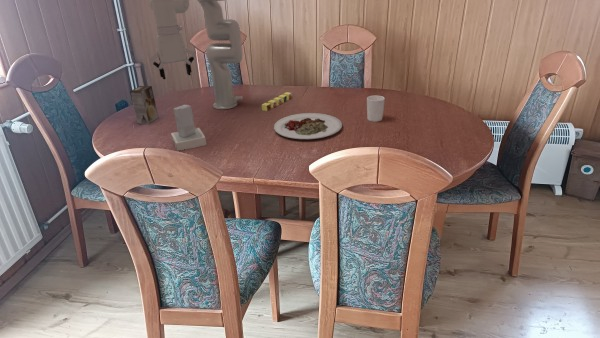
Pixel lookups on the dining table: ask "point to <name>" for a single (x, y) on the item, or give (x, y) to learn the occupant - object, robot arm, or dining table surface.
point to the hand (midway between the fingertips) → (176, 76)
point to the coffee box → (144, 104)
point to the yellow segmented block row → (276, 101)
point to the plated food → (308, 126)
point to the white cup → (375, 108)
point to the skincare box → (184, 120)
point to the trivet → (189, 140)
